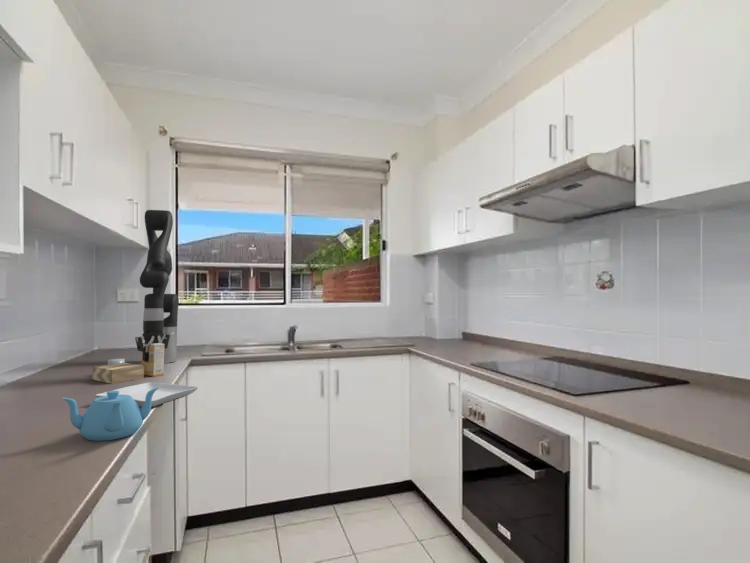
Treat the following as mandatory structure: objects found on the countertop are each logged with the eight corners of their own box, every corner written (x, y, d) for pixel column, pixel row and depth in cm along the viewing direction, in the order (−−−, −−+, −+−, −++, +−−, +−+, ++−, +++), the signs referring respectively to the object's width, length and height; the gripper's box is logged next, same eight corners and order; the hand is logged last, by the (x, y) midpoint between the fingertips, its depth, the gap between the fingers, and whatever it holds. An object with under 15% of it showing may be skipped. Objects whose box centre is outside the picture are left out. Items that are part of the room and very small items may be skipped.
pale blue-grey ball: (104, 374, 176) (104, 359, 176) (119, 372, 181) (119, 358, 182) (112, 376, 173) (112, 361, 173) (127, 373, 178) (127, 359, 179)
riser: (92, 379, 166) (92, 366, 166) (123, 374, 176) (124, 362, 176) (111, 383, 159) (112, 370, 159) (143, 378, 169) (143, 365, 169)
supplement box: (140, 374, 176) (141, 342, 176) (151, 373, 180) (152, 341, 181) (153, 376, 172) (154, 344, 173) (164, 375, 176) (164, 343, 177)
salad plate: (199, 395, 143) (200, 385, 143) (149, 412, 123) (150, 400, 123) (148, 391, 149) (148, 381, 149) (92, 406, 129) (93, 394, 129)
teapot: (110, 423, 112) (111, 383, 112) (161, 426, 109) (162, 386, 109) (59, 442, 97) (60, 396, 98) (117, 446, 95) (117, 400, 95)
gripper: (164, 318, 185) (163, 357, 184) (131, 319, 173) (129, 362, 172) (175, 318, 181) (174, 359, 181) (141, 320, 169) (140, 363, 168)
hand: (152, 360), depth 176 cm, fingers closed on supplement box, 5 cm apart
